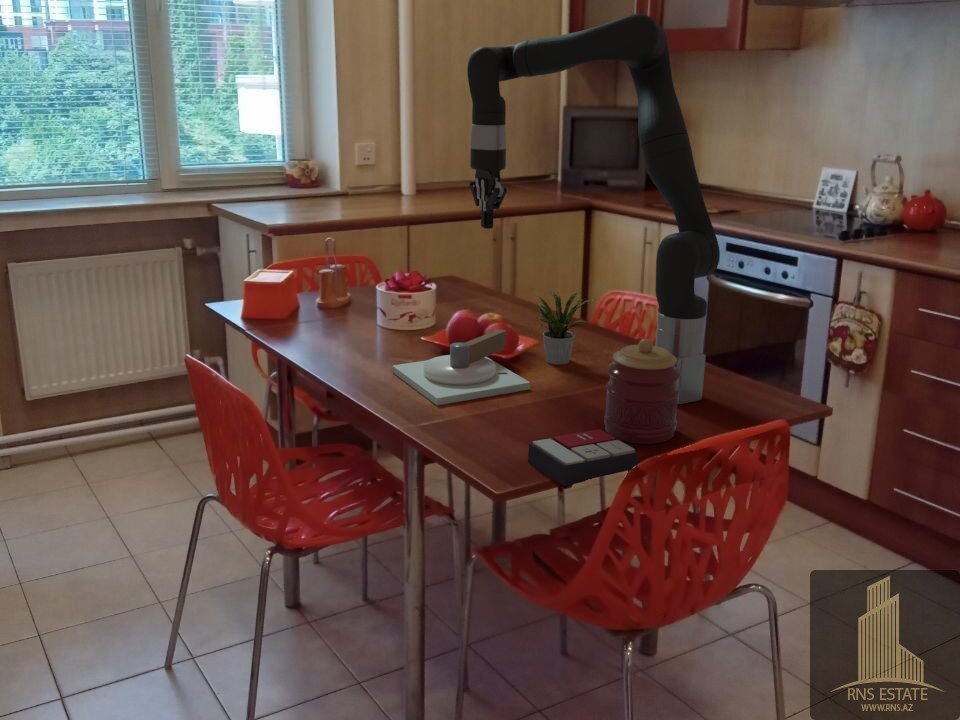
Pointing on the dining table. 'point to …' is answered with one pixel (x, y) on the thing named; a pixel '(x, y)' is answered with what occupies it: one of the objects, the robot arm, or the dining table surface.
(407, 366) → the dial base
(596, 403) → the dining table surface
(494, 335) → the dial
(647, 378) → the canister
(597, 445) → the calculator
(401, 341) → the dining table surface
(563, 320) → the house plant
